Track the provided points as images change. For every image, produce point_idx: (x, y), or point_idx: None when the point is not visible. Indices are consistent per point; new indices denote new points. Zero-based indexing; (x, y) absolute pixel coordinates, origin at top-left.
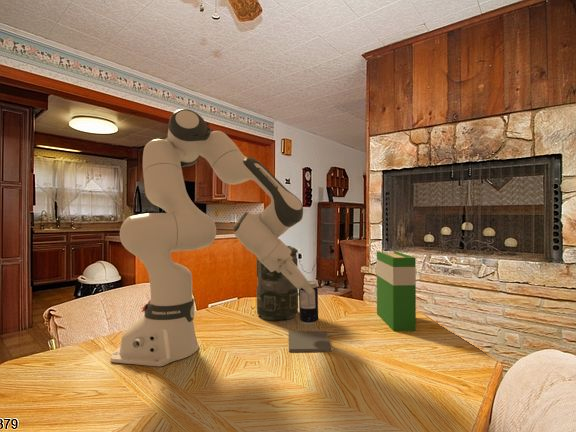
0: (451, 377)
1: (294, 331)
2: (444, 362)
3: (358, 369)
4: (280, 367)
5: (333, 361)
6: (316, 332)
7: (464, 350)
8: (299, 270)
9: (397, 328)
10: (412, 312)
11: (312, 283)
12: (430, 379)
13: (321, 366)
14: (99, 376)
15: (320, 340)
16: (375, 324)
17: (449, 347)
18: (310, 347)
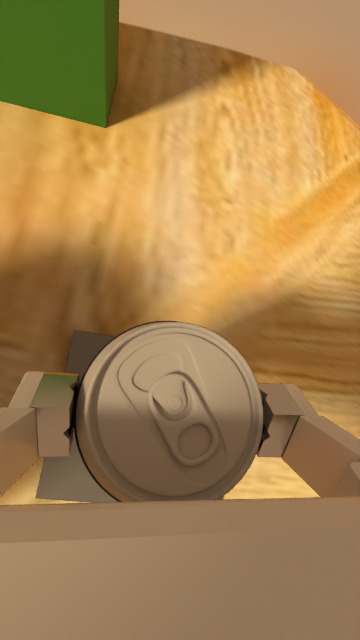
0: (347, 169)
1: (43, 467)
2: (293, 141)
3: (324, 322)
4: None
5: (284, 371)
6: (80, 370)
7: (244, 73)
8: (178, 591)
9: (108, 111)
10: (116, 22)
11: (209, 366)
12: (356, 206)
13: None
14: None
15: None
16: (33, 141)
17: (227, 85)
18: None
